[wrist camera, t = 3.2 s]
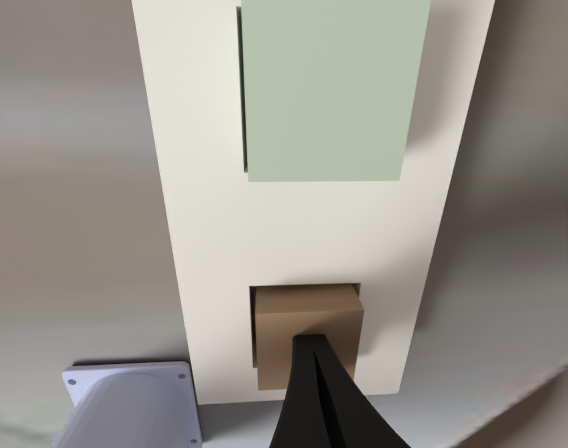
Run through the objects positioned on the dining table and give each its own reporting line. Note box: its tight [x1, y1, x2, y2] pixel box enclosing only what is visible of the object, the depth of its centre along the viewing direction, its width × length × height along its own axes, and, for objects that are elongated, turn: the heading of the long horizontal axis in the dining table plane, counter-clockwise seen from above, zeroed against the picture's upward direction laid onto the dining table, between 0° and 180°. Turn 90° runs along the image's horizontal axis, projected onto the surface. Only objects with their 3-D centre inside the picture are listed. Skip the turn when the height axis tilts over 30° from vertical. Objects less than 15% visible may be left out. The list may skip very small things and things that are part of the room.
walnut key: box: [255, 283, 364, 391], centre depth 14 cm, size 4×4×4 cm
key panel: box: [132, 0, 495, 405], centre depth 13 cm, size 20×11×4 cm, turn 179°
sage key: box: [241, 0, 431, 182], centre depth 9 cm, size 4×4×4 cm
